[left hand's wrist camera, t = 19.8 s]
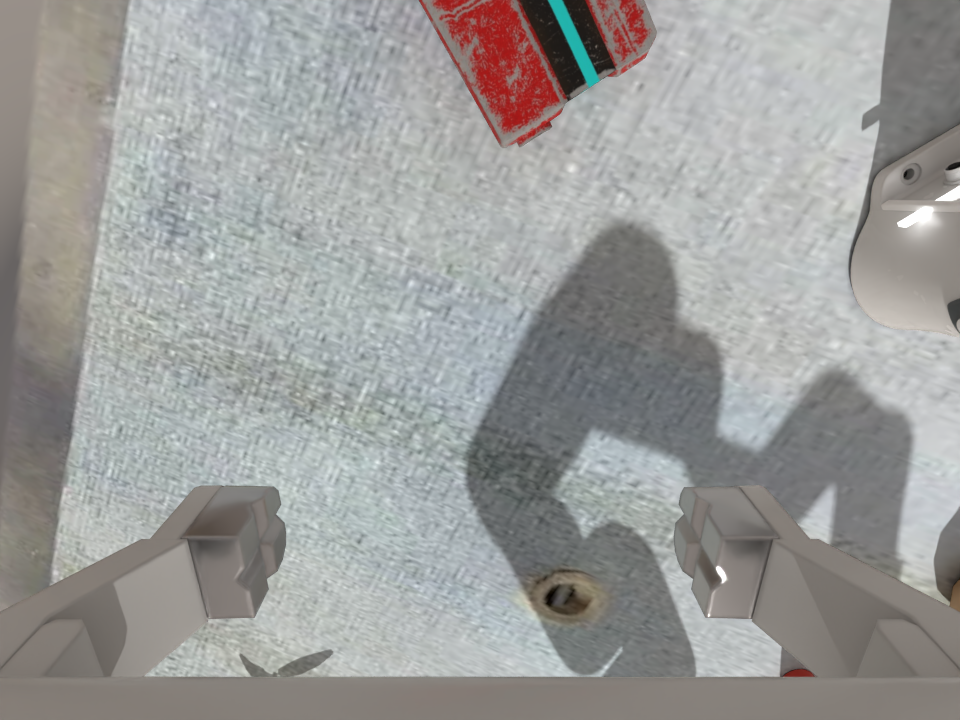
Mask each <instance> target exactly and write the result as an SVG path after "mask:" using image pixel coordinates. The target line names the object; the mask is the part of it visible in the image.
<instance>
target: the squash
mask: <svg viewBox="0 0 960 720" xmlns="http://www.w3.org/2000/svg"><path fill="white" fill-rule="evenodd" d="M950 607H951V608H953V609H955V610H957V611H959V612H960V579H959V580H958V581H957V582H956V584H955V585H954V586H953V590H952V596H951V601H950Z"/></svg>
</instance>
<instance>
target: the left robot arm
mask: <svg viewBox="0 0 960 720" xmlns="http://www.w3.org/2000/svg"><path fill="white" fill-rule="evenodd" d="M906 170H907V172H908V173H907V176H906V177H905V178H904V176H903V175H904V172H905V171H906ZM851 284H852V289H853V293H854V295H855V298H856V300H857V302H858V304H859V305H860V307H861V308H862V310H863V311H864V312H865V313H866V314H867V315H868V316H869V317H870V318H872V319H873V320H874V321H876V322H878V323H879V324H882V325H884V326H887V327H890V328H893V329H899V330H918V331H928V332H935V333H940V334H945V335H950V336H954V337H959V338H960V124H959V125H957V126H956V127H954V128H952V129H950V130H949V131H947V132H945V133H944V134H942V135H940V136H938V137H937V138H935V139H933V140H932V141H930V142H928V143H926V144H925V145H923V146H921V147H920V148H918V149H916V150H914V151H913V152H911V153H909V154H908V155H906V156H904V157H902V158H901V159H899V160H897V161H896V162H894V163H892V164H890V165H889V166H887V167H885V168H884V169H882V170H881V171H880V172H879V173H878V174H877V176H876V177H875V179H874V182H873V186H872V191H871V201H870V212H869V215H868V217H867V220H866V222H865V224H864V226H863V228H862V231H861V233H860V235H859V237H858V239H857V242H856V245H855V248H854V252H853V256H852V261H851ZM280 506H281V500H280V496H279V491H278V490H277V489H276V488H275V487H269V486H198V487H195V488H194V489H193V490H192V491H191V492H190V493H189V495H188V496H187V497H186V498H185V499H184V500H183V501H182V503H181V504H180V505H179V506H178V507H177V508H176V509H175V511H174V512H173V513H172V514H171V515H170V516H169V518H168V519H167V520H166V521H165V522H164V523H163V524H162V526H161V527H160V528H159V529H158V530H157V531H156V532H155V534H154V535H153V536H152V537H151V538H150V539H141V540H139V541H137V542H135V543H133V544H131V545H129V546H127V547H125V548H123V549H121V550H119V551H118V552H116V553H114V554H112V555H110V556H108V557H106V558H104V559H102V560H100V561H98V562H96V563H94V564H92V565H90V566H88V567H86V568H84V569H82V570H80V571H79V572H77V573H75V574H73V575H71V576H69V577H67V578H65V579H63V580H61V581H59V582H57V583H55V584H53V585H51V586H49V587H47V588H45V589H43V590H42V591H40V592H38V593H36V594H34V595H32V596H30V597H28V598H26V599H24V600H22V601H20V602H18V603H16V604H14V605H12V606H10V607H8V608H6V609H4V610H3V611H1V612H0V720H960V612H959V611H957V610H955V609H953V608H951V607H949V606H947V605H945V604H943V603H942V602H940V601H938V600H936V599H934V598H932V597H930V596H928V595H926V594H924V593H922V592H920V591H918V590H916V589H914V588H912V587H910V586H908V585H907V584H905V583H903V582H901V581H899V580H897V579H895V578H893V577H891V576H889V575H887V574H885V573H883V572H881V571H879V570H877V569H875V568H874V567H872V566H870V565H868V564H866V563H864V562H862V561H860V560H858V559H856V558H854V557H852V556H850V555H848V554H846V553H844V552H842V551H840V550H839V549H837V548H835V547H833V546H831V545H829V544H827V543H825V542H823V541H821V540H819V539H810V538H809V537H808V536H807V535H806V534H805V532H804V531H803V530H802V529H801V528H800V527H799V526H798V524H797V523H796V522H795V521H794V520H793V519H792V518H791V516H790V515H789V514H788V513H787V512H786V511H785V510H784V508H783V507H782V506H781V505H780V504H779V503H778V501H777V500H776V499H775V498H774V497H773V496H772V495H771V493H770V492H769V491H768V490H767V489H766V488H765V487H762V486H760V485H749V486H734V487H684V488H683V490H682V492H681V495H680V500H679V506H680V508H681V509H682V511H683V513H684V515H683V516H682V517H681V518H680V519H679V520H678V521H677V522H676V523H675V531H674V546H675V553H676V556H677V560H678V562H679V565H680V567H681V569H682V571H683V572H684V573H686V574H687V575H689V576H690V577H691V578H693V583H692V588H691V590H692V592H693V594H694V596H695V598H696V600H697V602H698V604H699V606H700V608H701V610H702V612H703V614H704V616H705V618H738V619H752V622H753V623H755V624H756V625H757V626H758V627H759V628H760V629H762V630H763V631H764V632H765V633H766V634H767V635H769V636H770V637H771V638H772V639H773V640H775V641H776V642H777V643H778V644H779V645H780V646H782V647H783V648H784V649H785V650H786V651H787V652H789V653H790V654H791V655H792V656H793V657H794V658H796V659H797V660H798V661H799V662H800V663H801V664H803V665H804V666H805V667H806V668H807V669H808V670H810V671H811V672H812V673H813V674H814V675H815V676H817V677H143V676H145V675H146V674H147V673H148V672H149V671H151V670H152V669H153V668H154V667H155V666H156V665H158V664H159V663H160V662H161V661H162V660H163V659H165V658H166V657H167V656H168V655H169V654H170V653H172V652H173V651H174V650H175V649H176V648H177V647H179V646H180V645H181V644H182V643H183V642H185V641H186V640H187V639H188V638H189V637H190V636H192V635H193V634H194V633H195V632H196V631H197V630H199V629H200V628H201V627H202V626H203V625H204V624H206V623H207V622H208V619H222V618H255V616H256V614H257V612H258V610H259V608H260V606H261V604H262V602H263V600H264V598H265V596H266V594H267V592H268V590H269V588H268V583H267V578H269V577H270V576H271V575H273V574H274V573H276V572H277V571H278V569H279V567H280V565H281V562H282V560H283V556H284V552H285V547H286V529H285V523H284V522H283V521H282V520H281V519H280V518H279V517H278V516H277V515H276V513H277V511H278V509H279V508H280Z"/></svg>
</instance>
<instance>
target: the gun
mask: <svg viewBox="0 0 960 720" xmlns="http://www.w3.org/2000/svg"><path fill="white" fill-rule="evenodd" d="M419 1H420V3H421V5H422V7H423V8H424V10H425V12H426V14H427V16H428V17H429V19H430V21H431V23H432V25H433V26H434V28H435V30H436V32H437V34H438V35H439V37H440V39H441V41H442V42H443V44H444V46H445V48H446V50H447V51H448V53H449V55H450V57H451V59H452V60H453V62H454V64H455V66H456V67H457V69H458V71H459V73H460V75H461V76H462V78H463V80H464V82H465V84H466V85H467V87H468V89H469V91H470V93H471V94H472V96H473V98H474V100H475V101H476V103H477V105H478V107H479V109H480V110H481V112H482V114H483V116H484V118H485V119H486V121H487V123H488V125H489V127H490V128H491V130H492V132H493V134H494V135H495V137H496V139H497V141H498V143H499V144H500V146H501V147H502V148H506V147H508V146H510V145H512V144H514V143H516V142H517V143H518V145H519V147H522V146H524V145H525V144H526V143H528V142H529V141H531V140H533V139H534V138H536V137H537V136H539V135H541V134H542V133H544V132H545V131H547V130H549V129H550V128H552V125H551V123H550V121H551V120H552V119H554V118H555V117H557V116H558V115H559V114H560V113H561V112H562V110H563V107H564V105H565V103H567V102H568V101H570V100H571V99H573V98H574V97H576V96H577V95H579V94H580V93H582V92H583V91H585V90H587V89H588V88H590V87H591V86H593V85H594V84H596V83H597V82H599V81H600V80H602V79H603V78H605V77H607V76H609V77H618V76H620V75H621V74H622V73H624V72H625V71H627V70H628V69H630V68H631V67H633V66H634V65H636V64H637V63H639V62H640V61H642V60H643V59H645V57H646V55H647V53H648V51H649V49H650V47H651V45H652V44H653V42H654V40H655V38H656V33H657V31H656V29H655V26H654V24H653V21H652V19H651V16H650V14H649V11H648V9H647V6H646V4H645V1H644V0H419Z"/></svg>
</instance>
